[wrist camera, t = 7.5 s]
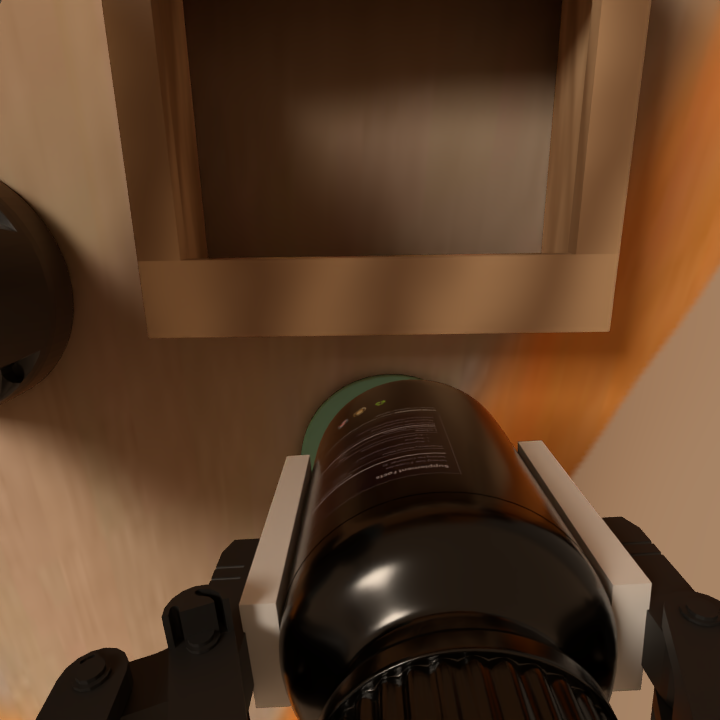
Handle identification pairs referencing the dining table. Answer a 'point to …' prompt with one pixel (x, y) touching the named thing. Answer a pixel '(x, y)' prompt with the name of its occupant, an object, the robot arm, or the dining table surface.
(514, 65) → the dining table surface
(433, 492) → the supplement bottle
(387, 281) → the cover box
